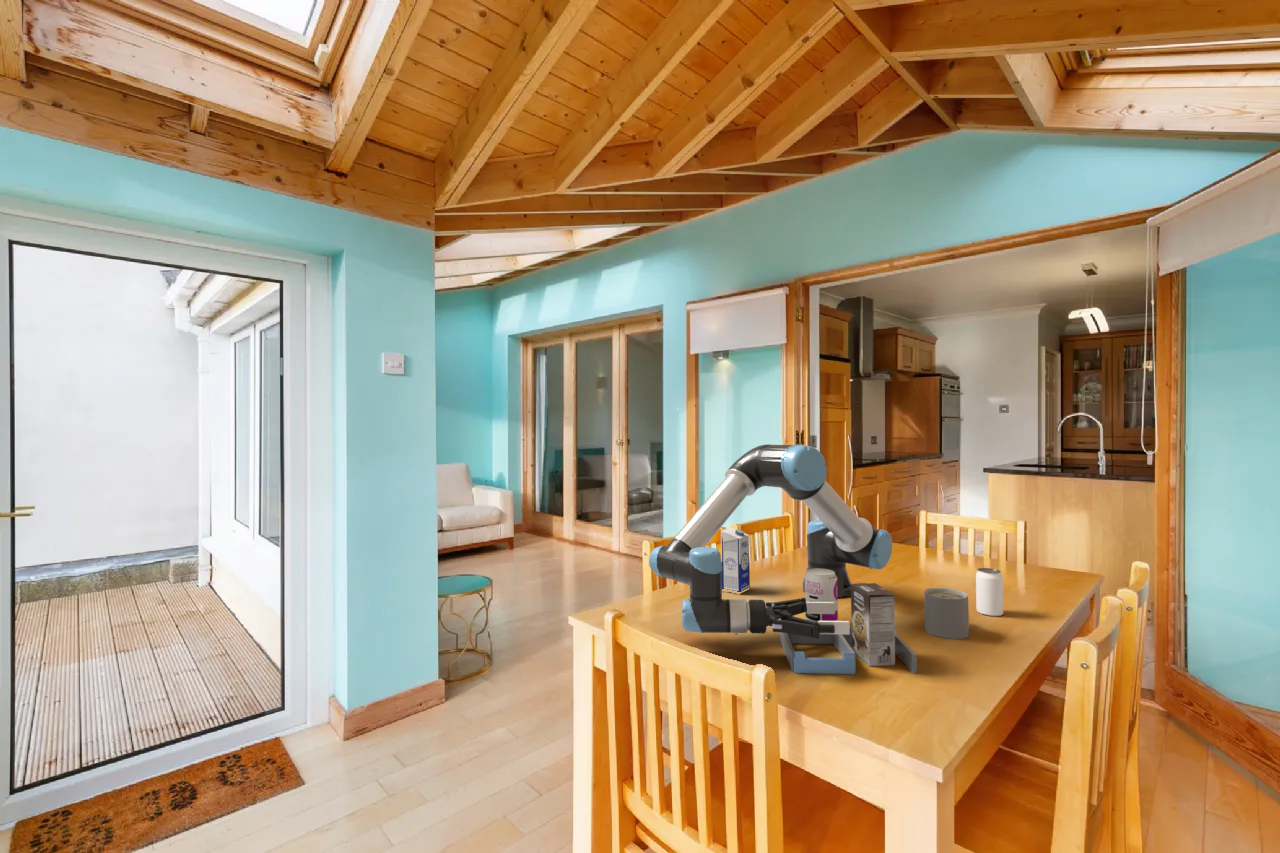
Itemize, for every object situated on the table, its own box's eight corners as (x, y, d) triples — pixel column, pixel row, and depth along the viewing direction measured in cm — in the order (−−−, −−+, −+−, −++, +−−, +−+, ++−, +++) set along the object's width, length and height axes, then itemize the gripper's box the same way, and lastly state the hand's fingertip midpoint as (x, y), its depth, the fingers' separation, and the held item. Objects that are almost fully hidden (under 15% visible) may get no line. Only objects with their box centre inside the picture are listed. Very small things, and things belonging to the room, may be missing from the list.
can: (1007, 617, 158) (1006, 573, 158) (981, 616, 160) (980, 572, 159) (997, 609, 165) (997, 567, 165) (972, 608, 166) (972, 567, 166)
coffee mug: (963, 642, 141) (962, 601, 141) (919, 633, 148) (919, 593, 148) (976, 627, 151) (975, 589, 151) (935, 619, 158) (934, 582, 158)
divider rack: (780, 641, 144) (780, 625, 144) (890, 643, 141) (890, 626, 141) (793, 673, 126) (792, 654, 126) (919, 676, 123) (919, 656, 123)
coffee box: (850, 651, 137) (849, 583, 137) (876, 649, 138) (875, 582, 138) (869, 667, 128) (867, 594, 128) (896, 665, 129) (895, 593, 129)
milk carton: (731, 586, 193) (730, 526, 193) (750, 589, 189) (749, 528, 189) (721, 591, 187) (720, 530, 187) (740, 595, 183) (739, 532, 183)
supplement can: (838, 624, 155) (837, 568, 155) (838, 635, 147) (837, 576, 147) (806, 621, 158) (805, 567, 158) (805, 632, 150) (803, 574, 150)
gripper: (744, 614, 148) (829, 615, 146) (753, 653, 123) (856, 655, 121) (743, 585, 148) (828, 586, 146) (753, 618, 123) (855, 619, 121)
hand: (841, 617), depth 133 cm, fingers open, 13 cm apart
